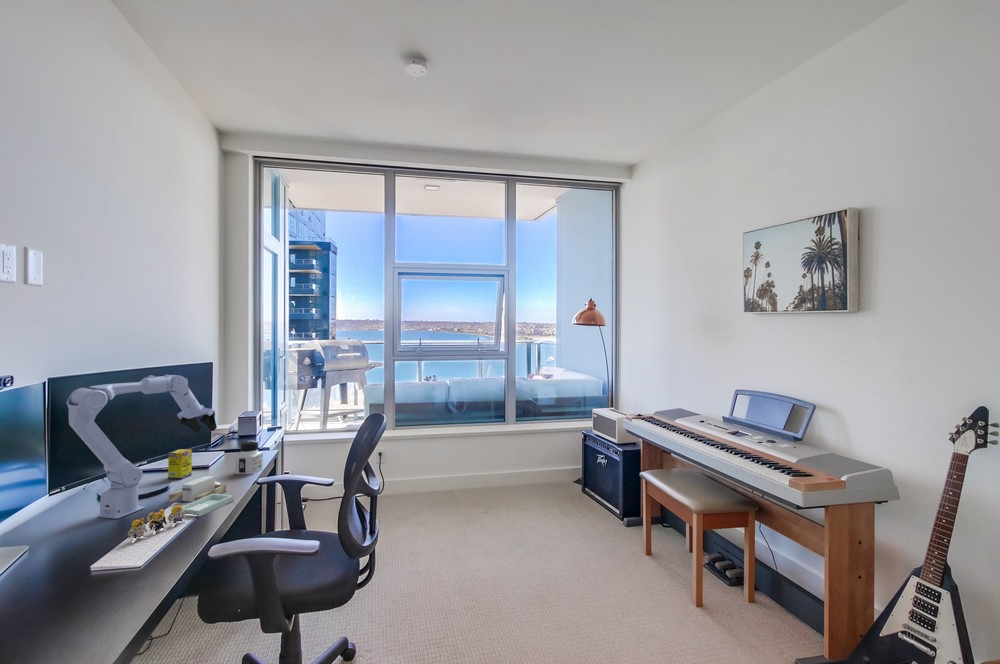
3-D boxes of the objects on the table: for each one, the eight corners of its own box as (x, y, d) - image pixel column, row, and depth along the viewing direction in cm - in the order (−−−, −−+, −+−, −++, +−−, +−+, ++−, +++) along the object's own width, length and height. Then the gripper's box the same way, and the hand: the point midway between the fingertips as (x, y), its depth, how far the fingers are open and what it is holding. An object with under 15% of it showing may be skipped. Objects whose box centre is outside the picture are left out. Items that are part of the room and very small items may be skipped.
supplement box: (181, 479, 185) (182, 453, 185) (167, 479, 185) (167, 452, 185) (192, 475, 190) (192, 449, 190) (178, 474, 191) (178, 449, 191)
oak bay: (196, 504, 158) (196, 497, 158) (168, 501, 161) (168, 494, 161) (226, 491, 171) (226, 485, 171) (200, 489, 174) (200, 482, 174)
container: (253, 474, 192) (253, 444, 192) (235, 474, 192) (235, 443, 192) (262, 469, 200) (263, 439, 200) (245, 468, 200) (245, 439, 200)
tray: (198, 517, 148) (198, 511, 148) (176, 514, 149) (176, 508, 149) (233, 501, 162) (233, 495, 162) (213, 499, 164) (213, 493, 164)
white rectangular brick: (190, 502, 160) (190, 485, 160) (180, 501, 161) (181, 485, 161) (214, 492, 171) (215, 476, 171) (205, 491, 172) (206, 475, 172)
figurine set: (123, 543, 130) (123, 520, 130) (180, 521, 145) (180, 500, 145) (131, 545, 128) (131, 522, 128) (188, 522, 144) (188, 502, 144)
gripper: (210, 394, 171) (228, 421, 178) (180, 397, 174) (198, 424, 181) (197, 406, 165) (216, 434, 171) (166, 409, 168) (185, 436, 175)
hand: (206, 430), depth 176 cm, fingers open, 7 cm apart
